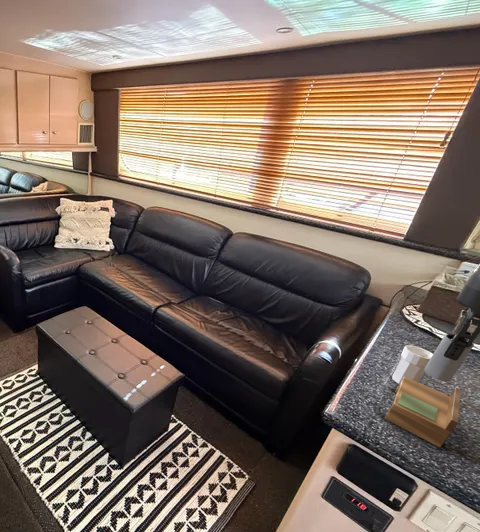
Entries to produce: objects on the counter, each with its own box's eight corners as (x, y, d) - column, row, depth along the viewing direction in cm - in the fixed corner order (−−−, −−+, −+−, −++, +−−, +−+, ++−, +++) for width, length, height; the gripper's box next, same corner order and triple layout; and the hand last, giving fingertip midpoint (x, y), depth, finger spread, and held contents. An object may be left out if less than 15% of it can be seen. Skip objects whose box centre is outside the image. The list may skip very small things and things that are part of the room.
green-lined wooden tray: (396, 389, 92) (409, 367, 89) (445, 412, 85) (461, 389, 82) (384, 418, 81) (398, 394, 78) (439, 447, 74) (458, 422, 71)
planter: (419, 366, 79) (440, 331, 75) (441, 371, 78) (464, 336, 74) (431, 378, 75) (454, 342, 71) (455, 384, 74) (480, 347, 70)
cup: (395, 372, 100) (411, 343, 96) (422, 387, 95) (441, 357, 90) (383, 376, 98) (400, 347, 94) (411, 392, 92) (429, 361, 88)
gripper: (523, 304, 60) (474, 375, 67) (518, 288, 69) (475, 352, 76) (465, 289, 66) (424, 356, 72) (467, 275, 74) (431, 336, 81)
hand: (450, 353), depth 74 cm, fingers closed on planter, 4 cm apart
